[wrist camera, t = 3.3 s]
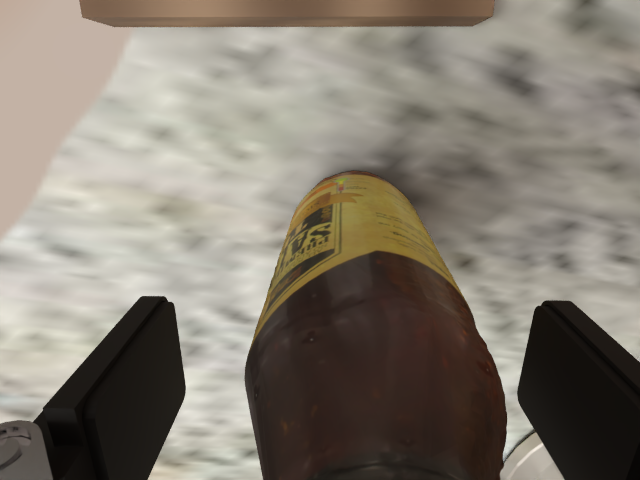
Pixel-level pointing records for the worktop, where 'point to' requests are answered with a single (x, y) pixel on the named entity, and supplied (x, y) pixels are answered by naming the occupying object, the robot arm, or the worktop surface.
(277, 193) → the worktop surface
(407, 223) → the sauce bottle
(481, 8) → the dock
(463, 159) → the worktop surface
